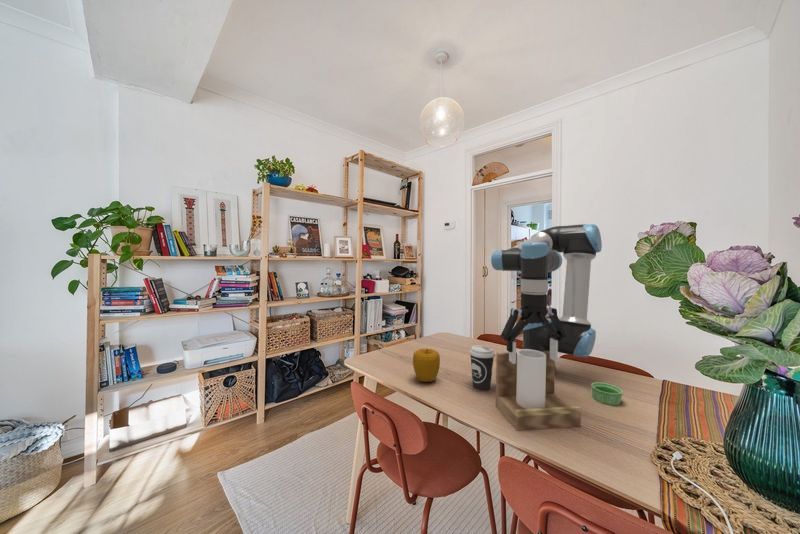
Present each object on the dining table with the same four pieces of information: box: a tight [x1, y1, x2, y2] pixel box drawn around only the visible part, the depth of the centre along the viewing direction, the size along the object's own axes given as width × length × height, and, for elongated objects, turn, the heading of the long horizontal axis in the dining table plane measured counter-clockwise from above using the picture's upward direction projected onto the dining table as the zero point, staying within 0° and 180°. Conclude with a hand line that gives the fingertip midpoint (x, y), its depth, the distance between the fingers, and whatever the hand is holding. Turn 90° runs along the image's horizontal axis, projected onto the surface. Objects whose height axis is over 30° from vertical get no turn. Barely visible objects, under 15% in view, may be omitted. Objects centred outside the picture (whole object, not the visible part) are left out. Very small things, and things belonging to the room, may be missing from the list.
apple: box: [412, 348, 441, 383], centre depth 115 cm, size 11×11×13 cm
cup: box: [516, 348, 546, 409], centre depth 89 cm, size 8×8×16 cm
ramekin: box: [590, 381, 624, 406], centre depth 100 cm, size 9×9×4 cm
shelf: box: [495, 351, 582, 431], centre depth 89 cm, size 20×14×18 cm
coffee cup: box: [468, 344, 496, 392], centre depth 109 cm, size 10×10×15 cm
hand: (533, 361), depth 88 cm, fingers open, 13 cm apart
